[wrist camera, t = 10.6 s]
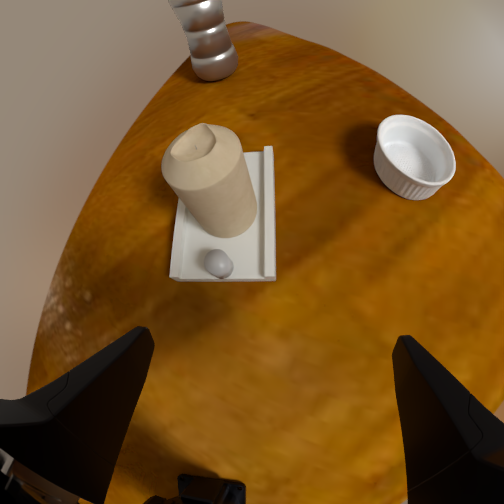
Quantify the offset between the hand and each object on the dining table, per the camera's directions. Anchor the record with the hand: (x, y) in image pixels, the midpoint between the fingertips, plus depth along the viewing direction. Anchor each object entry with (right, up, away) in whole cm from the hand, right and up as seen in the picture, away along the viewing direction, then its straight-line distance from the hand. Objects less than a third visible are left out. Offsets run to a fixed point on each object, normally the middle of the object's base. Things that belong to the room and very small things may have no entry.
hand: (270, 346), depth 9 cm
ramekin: (+16, +12, +16) cm, 26 cm away
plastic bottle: (-5, +29, +25) cm, 39 cm away
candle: (-3, +7, +16) cm, 18 cm away
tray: (-3, +7, +17) cm, 19 cm away
